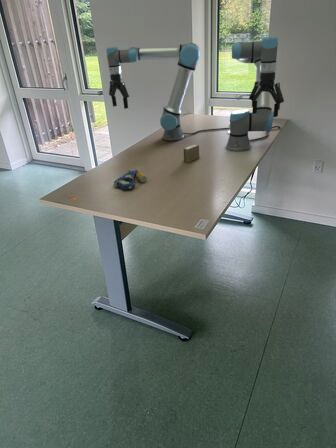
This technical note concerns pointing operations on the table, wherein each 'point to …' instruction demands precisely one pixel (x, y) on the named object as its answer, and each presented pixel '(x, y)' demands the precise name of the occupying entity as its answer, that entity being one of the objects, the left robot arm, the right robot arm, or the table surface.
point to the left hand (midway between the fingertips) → (120, 107)
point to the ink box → (191, 153)
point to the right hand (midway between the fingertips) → (264, 114)
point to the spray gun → (129, 179)
